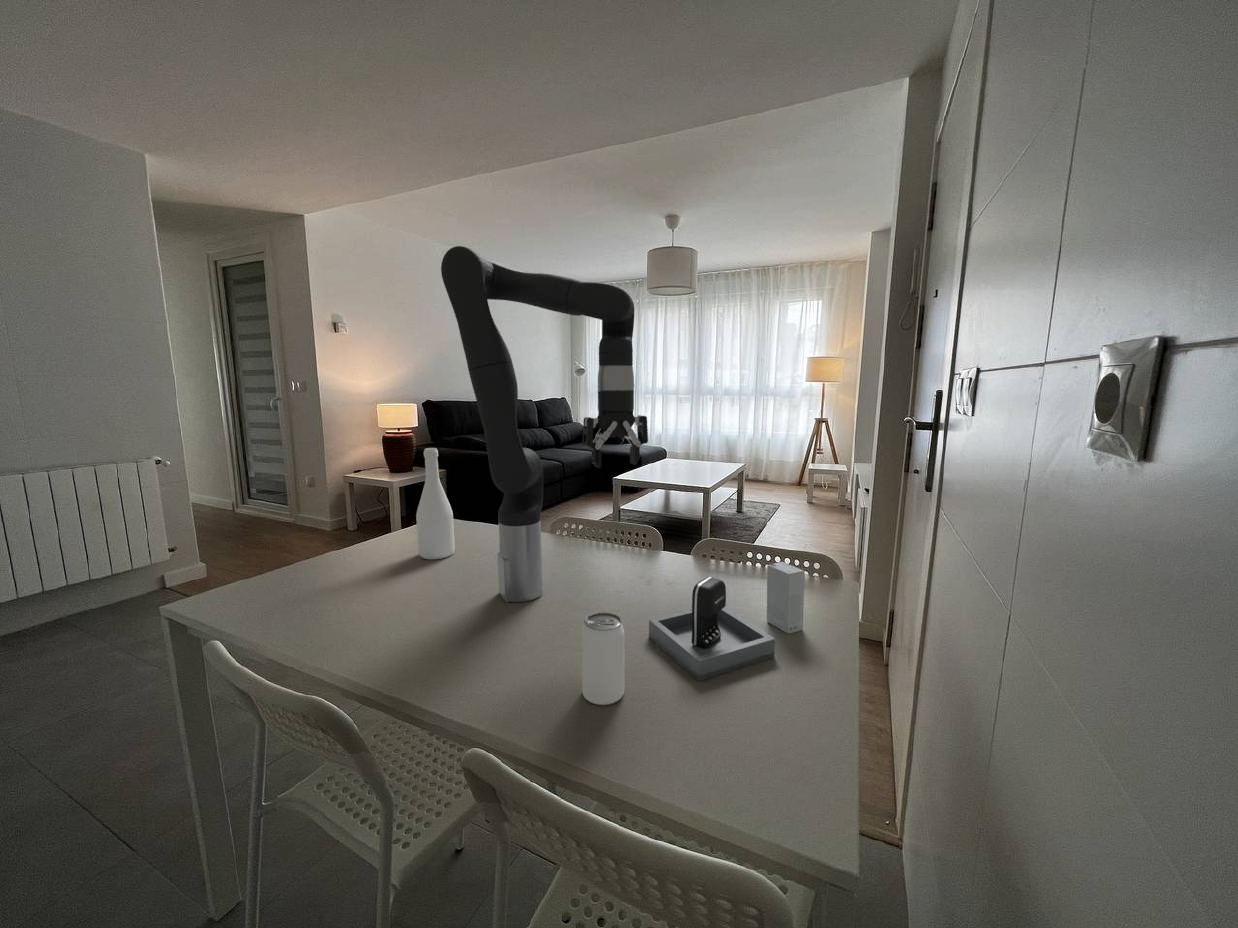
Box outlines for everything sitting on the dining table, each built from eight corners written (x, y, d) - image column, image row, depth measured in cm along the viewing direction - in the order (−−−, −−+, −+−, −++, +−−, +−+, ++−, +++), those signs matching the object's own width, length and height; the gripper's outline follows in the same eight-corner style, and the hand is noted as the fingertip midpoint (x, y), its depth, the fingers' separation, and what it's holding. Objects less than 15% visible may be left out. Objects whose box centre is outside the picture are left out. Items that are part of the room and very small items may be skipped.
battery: (709, 652, 87) (711, 590, 85) (690, 645, 89) (691, 585, 87) (727, 637, 92) (729, 578, 90) (708, 630, 95) (710, 573, 93)
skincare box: (803, 630, 97) (807, 570, 95) (786, 635, 95) (789, 574, 93) (780, 616, 102) (783, 560, 100) (764, 621, 100) (766, 563, 99)
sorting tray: (698, 681, 80) (699, 661, 80) (648, 636, 94) (649, 619, 94) (774, 657, 87) (775, 638, 87) (717, 619, 101) (717, 603, 101)
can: (582, 682, 80) (581, 611, 78) (622, 680, 81) (622, 610, 79) (582, 708, 74) (581, 632, 72) (626, 705, 74) (626, 630, 72)
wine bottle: (421, 550, 144) (414, 447, 139) (456, 547, 146) (450, 446, 141) (416, 561, 135) (409, 451, 130) (453, 558, 137) (447, 450, 132)
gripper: (637, 388, 110) (636, 460, 113) (577, 388, 104) (578, 465, 107) (654, 388, 104) (653, 465, 106) (591, 388, 97) (592, 470, 100)
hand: (616, 465), depth 106 cm, fingers open, 8 cm apart
